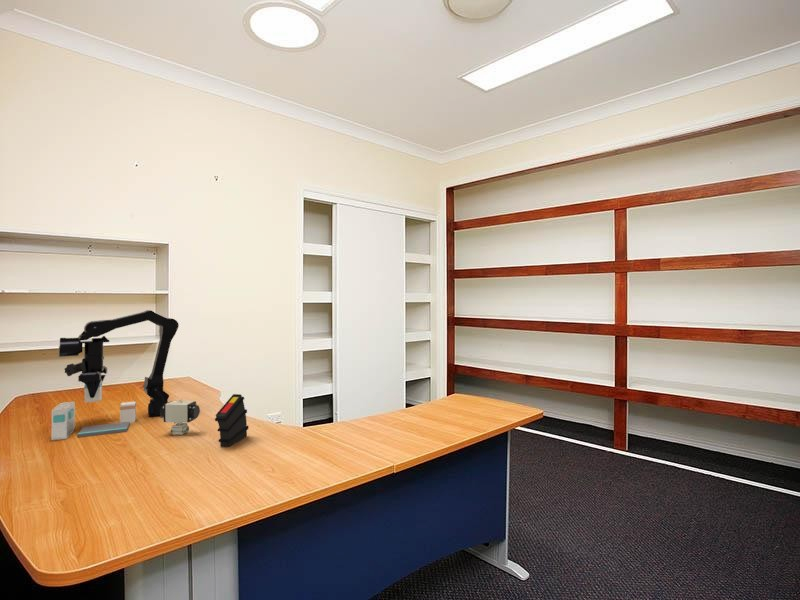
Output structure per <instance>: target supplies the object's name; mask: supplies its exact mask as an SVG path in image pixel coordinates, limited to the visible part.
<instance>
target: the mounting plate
mask: <svg viewBox="0 0 800 600" xmlns="http://www.w3.org/2000/svg"><path fill="white" fill-rule="evenodd" d="M130 424H131V423H130V422H123V423H120V422H117V423H106V424H97V425H89V426H83V427H82V429H81V430H80V431H78V433H77V438H84V437H92V436H103V435H109V434H110V435H111V434H120V433H126V432H127V431H128V430H129V427H130Z"/></svg>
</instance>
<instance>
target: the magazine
mask: <svg viewBox="0 0 800 600" xmlns="http://www.w3.org/2000/svg"><path fill="white" fill-rule="evenodd" d="M244 401H245V397H244V396H243V395H242V394H237V393H234V394H232V395H231V396H230V398H229V399H227V401H226V402H225V404H224V405H222V407H221V408H220V409H219V411H218V412H217V413H216V414H215V418H214V421H215V422H217V424H218V429H217V432H219V437H220V438H219V439H218V442H219V443H220V445H219V446H220V447H226V448H228V447H230V446H233V445H234V444H236V443H238V442H240V441H241V440H244V439H245V438H247V437H248V435H247V434H248V430H249V425H247V413H248V409H246V406H245V403H244ZM246 436H247V437H246ZM244 437H245V438H244Z"/></svg>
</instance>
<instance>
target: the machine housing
mask: <svg viewBox="0 0 800 600" xmlns="http://www.w3.org/2000/svg"><path fill="white" fill-rule="evenodd" d="M75 408H76V401H65V402H60V403H59V404H57V405H56V406H55V407H53V409H51V441H58V440H59V441H60V440H67V439H68V438H69V436H71V434H72V433H73V432H74V431H75V427H76V426H75V425H76V409H75Z"/></svg>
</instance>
